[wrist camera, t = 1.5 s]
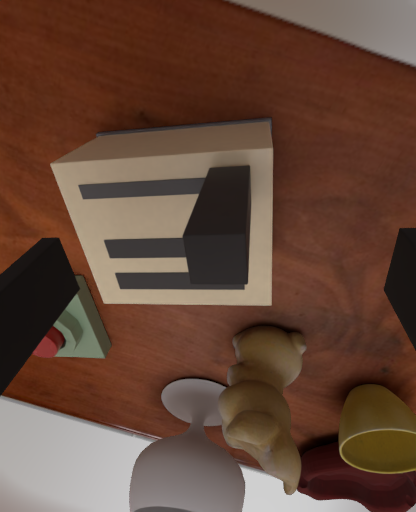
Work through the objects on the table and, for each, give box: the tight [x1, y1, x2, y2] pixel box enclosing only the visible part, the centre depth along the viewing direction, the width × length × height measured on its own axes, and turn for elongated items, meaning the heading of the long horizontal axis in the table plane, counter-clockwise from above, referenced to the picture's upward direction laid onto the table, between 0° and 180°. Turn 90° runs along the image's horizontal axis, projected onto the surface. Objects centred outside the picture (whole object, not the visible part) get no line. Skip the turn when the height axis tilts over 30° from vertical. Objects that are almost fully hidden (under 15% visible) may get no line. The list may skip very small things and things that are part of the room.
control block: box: [53, 276, 111, 358], centre depth 38 cm, size 12×10×4 cm
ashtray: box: [297, 441, 416, 512], centre depth 47 cm, size 18×16×5 cm
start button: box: [32, 326, 65, 358], centre depth 36 cm, size 4×4×2 cm
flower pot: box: [339, 384, 416, 474], centre depth 38 cm, size 10×10×7 cm
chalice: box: [129, 379, 245, 512], centre depth 41 cm, size 14×14×15 cm
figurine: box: [218, 325, 306, 495], centre depth 32 cm, size 10×8×15 cm
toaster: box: [50, 117, 273, 306], centre depth 25 cm, size 12×14×8 cm
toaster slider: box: [182, 165, 251, 285], centre depth 15 cm, size 2×2×8 cm
